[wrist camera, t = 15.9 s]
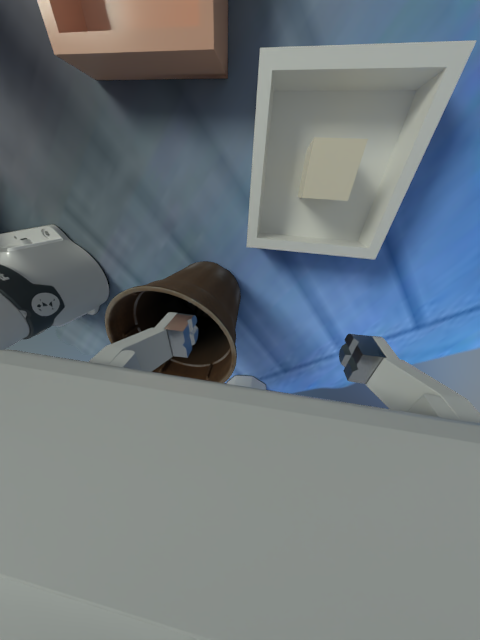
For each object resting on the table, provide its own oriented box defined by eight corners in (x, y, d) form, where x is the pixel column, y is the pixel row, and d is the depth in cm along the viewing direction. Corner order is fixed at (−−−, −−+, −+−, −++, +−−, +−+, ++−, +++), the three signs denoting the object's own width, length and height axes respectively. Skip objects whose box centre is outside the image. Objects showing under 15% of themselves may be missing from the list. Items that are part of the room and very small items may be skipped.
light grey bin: (251, 239, 29) (246, 246, 25) (264, 77, 20) (260, 47, 16) (360, 249, 27) (375, 259, 23) (431, 75, 18) (476, 40, 14)
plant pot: (228, 230, 29) (184, 261, 16) (266, 314, 36) (257, 383, 23) (153, 268, 35) (76, 314, 22) (198, 333, 42) (161, 397, 29)
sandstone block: (297, 196, 24) (301, 197, 19) (306, 150, 21) (314, 137, 16) (333, 199, 23) (347, 200, 19) (347, 151, 21) (367, 138, 16)
